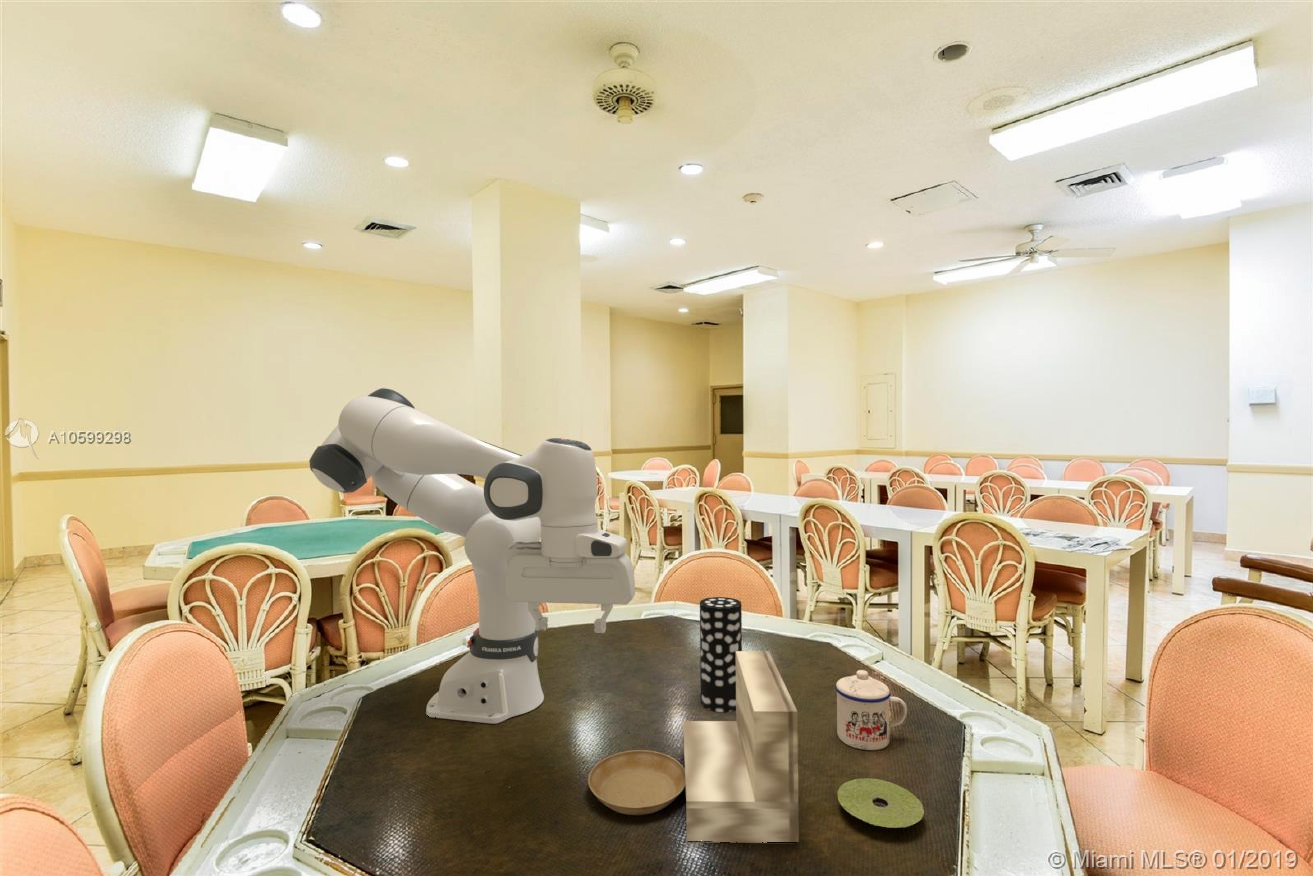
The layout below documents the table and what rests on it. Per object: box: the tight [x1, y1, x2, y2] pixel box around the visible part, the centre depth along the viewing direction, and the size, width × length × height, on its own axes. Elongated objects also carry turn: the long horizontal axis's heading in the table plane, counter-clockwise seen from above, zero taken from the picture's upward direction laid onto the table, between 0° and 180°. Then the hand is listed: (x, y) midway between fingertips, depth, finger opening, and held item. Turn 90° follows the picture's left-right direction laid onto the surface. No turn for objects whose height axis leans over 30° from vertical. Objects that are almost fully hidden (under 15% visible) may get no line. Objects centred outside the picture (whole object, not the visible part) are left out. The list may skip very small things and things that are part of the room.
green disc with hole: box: [836, 777, 925, 829], centre depth 82 cm, size 11×11×2 cm
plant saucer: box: [587, 749, 686, 816], centre depth 87 cm, size 15×15×3 cm
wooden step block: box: [682, 650, 800, 844], centre depth 87 cm, size 14×22×17 cm, turn 179°
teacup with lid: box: [835, 669, 908, 751], centre depth 102 cm, size 12×9×12 cm
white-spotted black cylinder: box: [699, 596, 743, 713], centre depth 117 cm, size 8×8×20 cm
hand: (570, 630), depth 91 cm, fingers open, 8 cm apart
